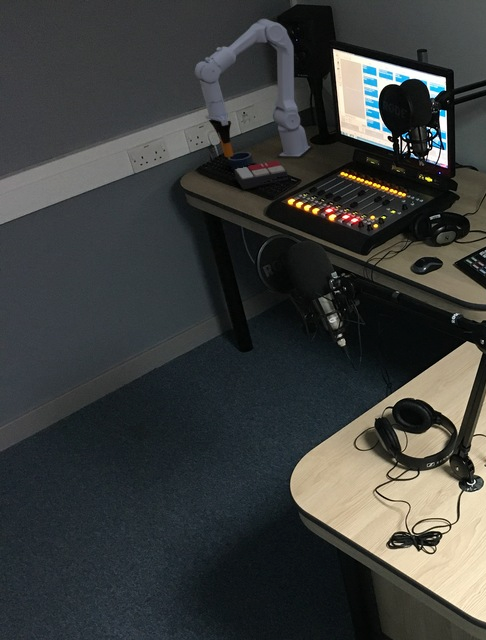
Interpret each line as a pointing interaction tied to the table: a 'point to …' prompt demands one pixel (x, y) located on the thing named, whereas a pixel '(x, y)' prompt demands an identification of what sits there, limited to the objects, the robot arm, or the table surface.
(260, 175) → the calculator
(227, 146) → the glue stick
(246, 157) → the dark blue round bowl
